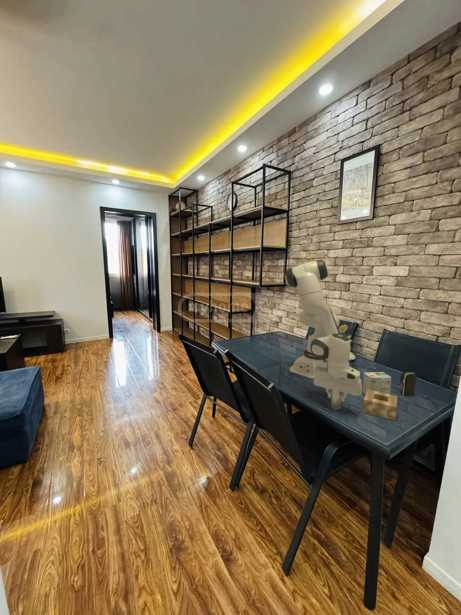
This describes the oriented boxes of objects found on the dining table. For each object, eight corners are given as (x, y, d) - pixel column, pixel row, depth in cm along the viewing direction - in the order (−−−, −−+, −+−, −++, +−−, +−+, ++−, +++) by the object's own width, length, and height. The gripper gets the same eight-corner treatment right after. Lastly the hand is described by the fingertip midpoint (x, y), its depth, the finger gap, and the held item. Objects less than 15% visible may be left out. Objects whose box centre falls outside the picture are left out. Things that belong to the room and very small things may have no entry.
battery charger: (408, 391, 134) (410, 370, 132) (415, 394, 130) (417, 373, 129) (397, 392, 132) (399, 371, 130) (404, 396, 128) (406, 374, 127)
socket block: (363, 412, 114) (364, 399, 113) (366, 400, 124) (367, 389, 123) (395, 420, 107) (396, 407, 106) (395, 408, 117) (397, 396, 116)
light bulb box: (381, 391, 134) (383, 371, 132) (390, 397, 127) (392, 377, 125) (361, 391, 133) (363, 371, 132) (369, 397, 127) (370, 377, 125)
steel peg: (329, 408, 117) (331, 387, 115) (331, 404, 120) (333, 384, 119) (339, 410, 115) (340, 389, 113) (341, 406, 118) (342, 386, 117)
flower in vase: (351, 356, 188) (354, 323, 185) (357, 362, 177) (360, 326, 173) (333, 355, 189) (335, 322, 186) (338, 361, 178) (340, 326, 175)
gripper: (312, 367, 118) (311, 395, 120) (361, 377, 107) (359, 408, 109) (316, 363, 123) (315, 390, 125) (363, 372, 112) (361, 402, 114)
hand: (336, 399), depth 117 cm, fingers closed on steel peg, 4 cm apart
